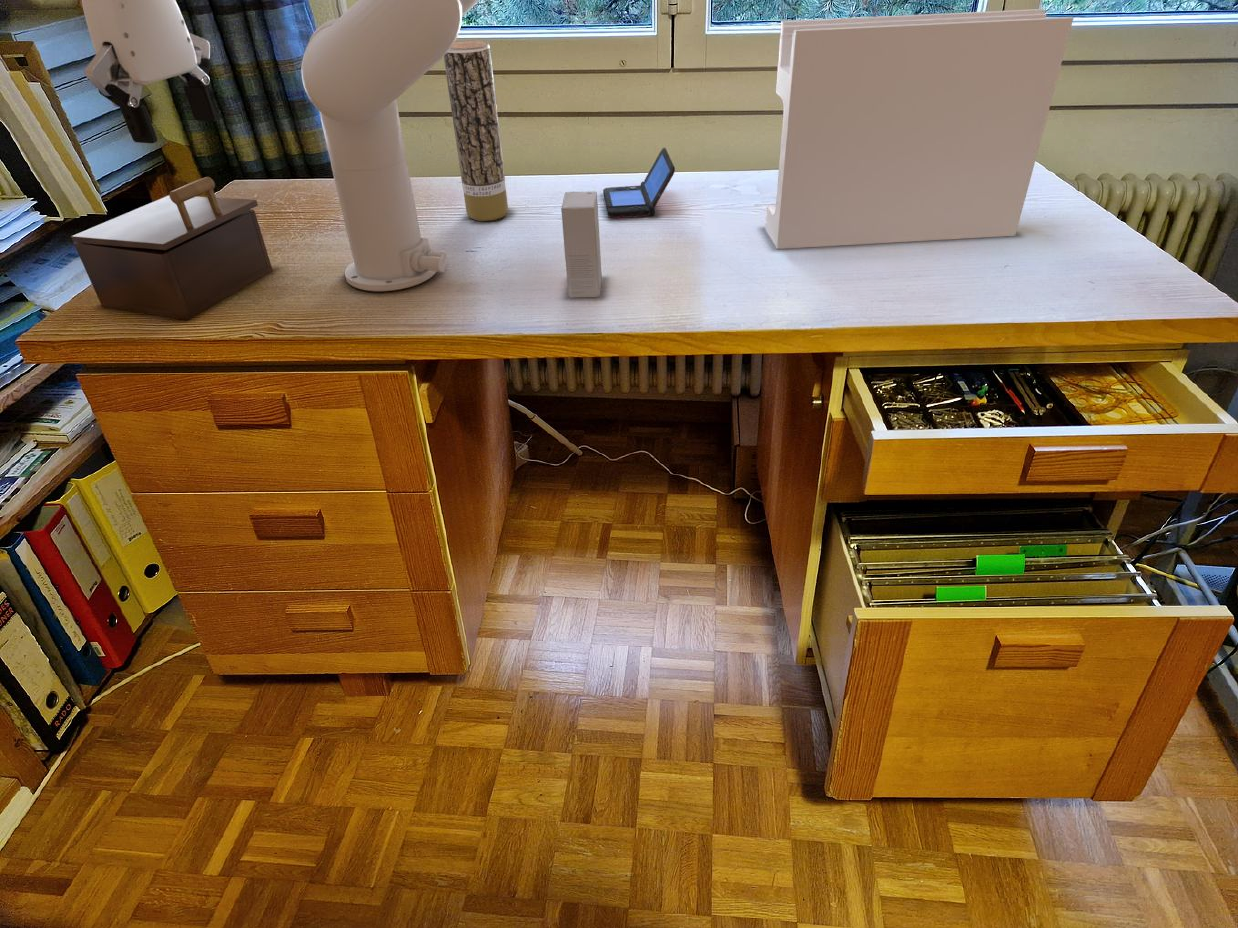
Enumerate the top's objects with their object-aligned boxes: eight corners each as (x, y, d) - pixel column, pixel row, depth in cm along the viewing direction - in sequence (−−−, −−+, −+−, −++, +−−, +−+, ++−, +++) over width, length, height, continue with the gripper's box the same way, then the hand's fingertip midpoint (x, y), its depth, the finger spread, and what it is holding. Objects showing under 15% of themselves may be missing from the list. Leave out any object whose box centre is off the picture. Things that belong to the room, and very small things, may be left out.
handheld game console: (602, 194, 138) (600, 149, 134) (665, 190, 139) (665, 146, 135) (607, 220, 128) (605, 172, 124) (675, 216, 129) (675, 168, 125)
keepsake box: (273, 270, 116) (254, 209, 111) (187, 320, 104) (161, 255, 99) (193, 259, 121) (172, 200, 115) (101, 306, 108) (73, 243, 103)
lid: (258, 205, 110) (245, 165, 107) (165, 250, 98) (147, 206, 95) (172, 200, 115) (156, 161, 112) (73, 242, 103) (52, 200, 100)
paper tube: (516, 216, 131) (497, 44, 116) (478, 225, 128) (454, 51, 113) (497, 205, 136) (476, 39, 121) (460, 214, 133) (434, 45, 118)
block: (776, 249, 117) (795, 31, 100) (765, 229, 123) (781, 21, 106) (1015, 235, 118) (1073, 18, 101) (991, 216, 124) (1042, 9, 108)
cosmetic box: (570, 279, 110) (564, 191, 103) (602, 278, 110) (597, 190, 103) (567, 298, 105) (560, 207, 98) (600, 298, 105) (595, 206, 98)
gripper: (153, -43, 95) (204, 111, 105) (22, -24, 82) (95, 150, 92) (203, -44, 93) (251, 114, 103) (76, -25, 80) (145, 153, 90)
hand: (177, 131), depth 98 cm, fingers open, 9 cm apart
